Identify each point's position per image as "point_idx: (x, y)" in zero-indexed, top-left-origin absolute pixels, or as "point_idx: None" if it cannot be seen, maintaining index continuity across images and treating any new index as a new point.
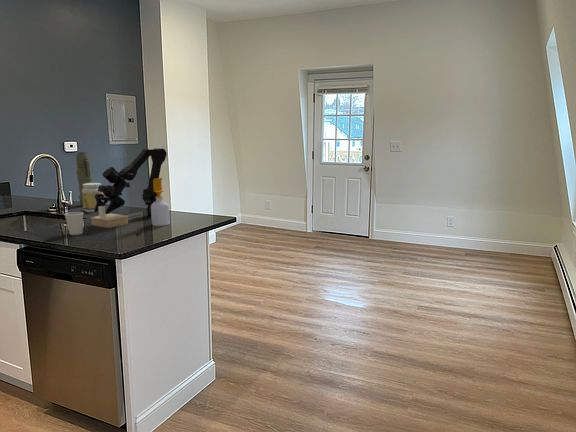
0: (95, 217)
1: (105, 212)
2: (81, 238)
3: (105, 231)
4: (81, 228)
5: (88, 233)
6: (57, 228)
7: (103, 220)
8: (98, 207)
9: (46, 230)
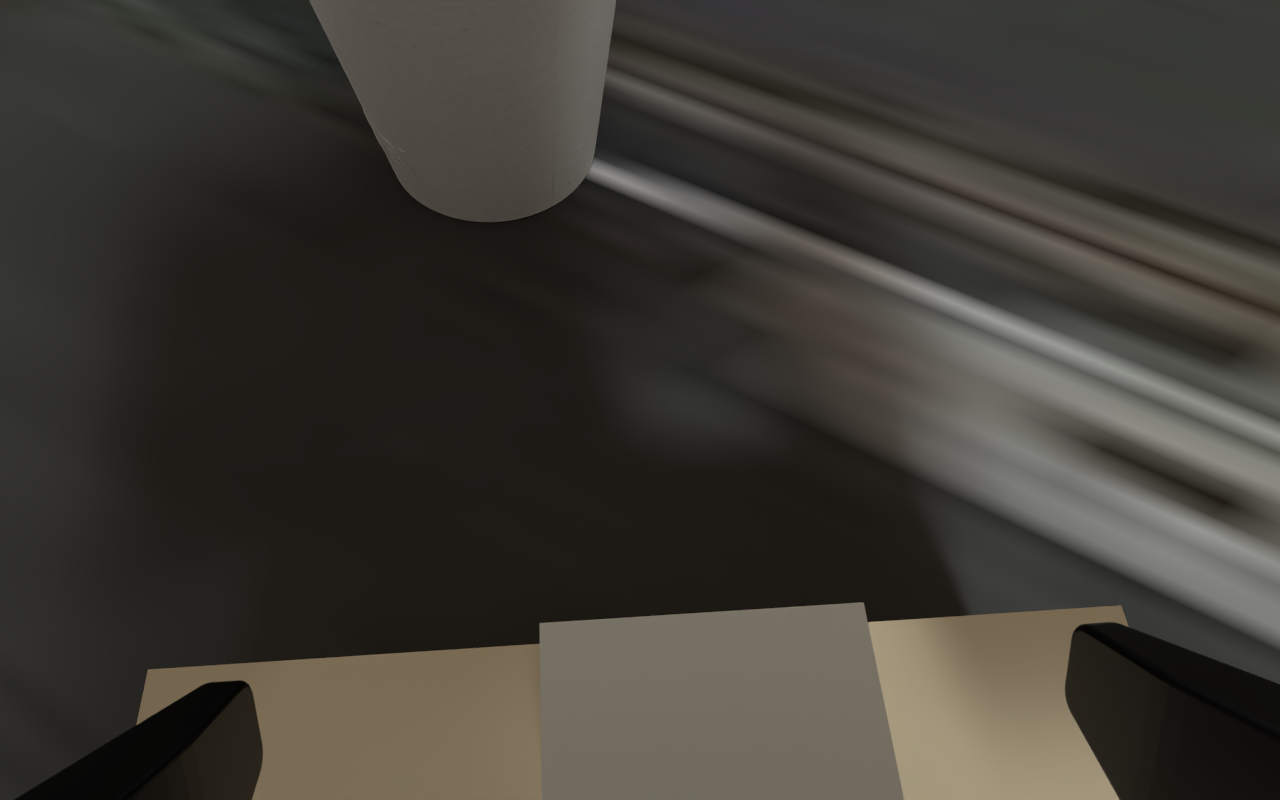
0: (964, 691)
1: (217, 683)
2: (108, 46)
3: (87, 499)
4: (360, 103)
5: (295, 242)
6: (1175, 172)
7: (397, 660)
8: (842, 617)
9: (1120, 45)
